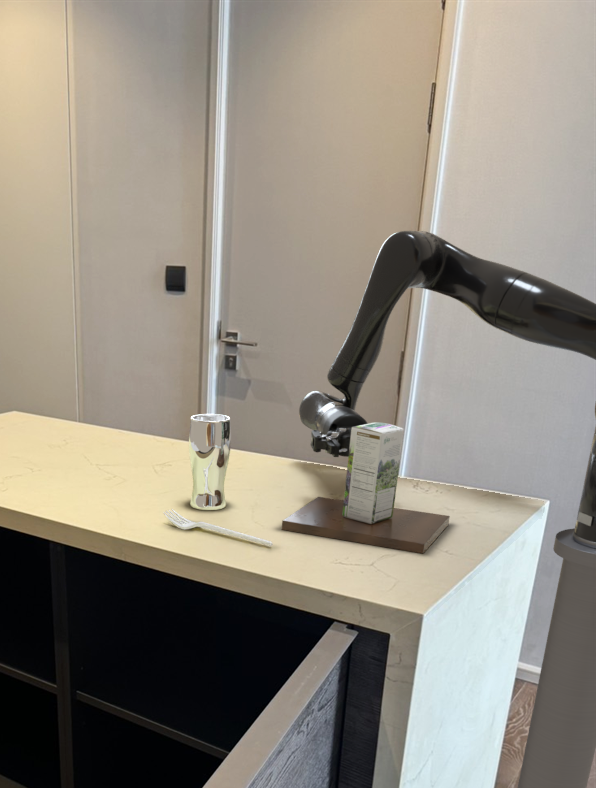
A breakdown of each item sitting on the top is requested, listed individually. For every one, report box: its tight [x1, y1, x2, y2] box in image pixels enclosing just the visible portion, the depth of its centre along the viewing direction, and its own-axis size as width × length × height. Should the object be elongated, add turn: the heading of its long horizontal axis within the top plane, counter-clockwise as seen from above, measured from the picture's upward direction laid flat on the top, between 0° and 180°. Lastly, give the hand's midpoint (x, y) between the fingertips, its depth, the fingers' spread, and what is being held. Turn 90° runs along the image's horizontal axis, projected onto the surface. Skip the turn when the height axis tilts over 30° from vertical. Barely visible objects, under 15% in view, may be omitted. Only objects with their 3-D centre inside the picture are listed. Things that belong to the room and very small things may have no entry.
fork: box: [162, 508, 274, 547], centre depth 133 cm, size 3×20×2 cm, turn 49°
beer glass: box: [188, 413, 232, 511], centre depth 145 cm, size 7×7×15 cm
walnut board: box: [281, 496, 451, 554], centre depth 136 cm, size 22×16×2 cm
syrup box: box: [342, 421, 405, 524], centre depth 133 cm, size 6×6×14 cm
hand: (363, 451), depth 138 cm, fingers open, 8 cm apart
